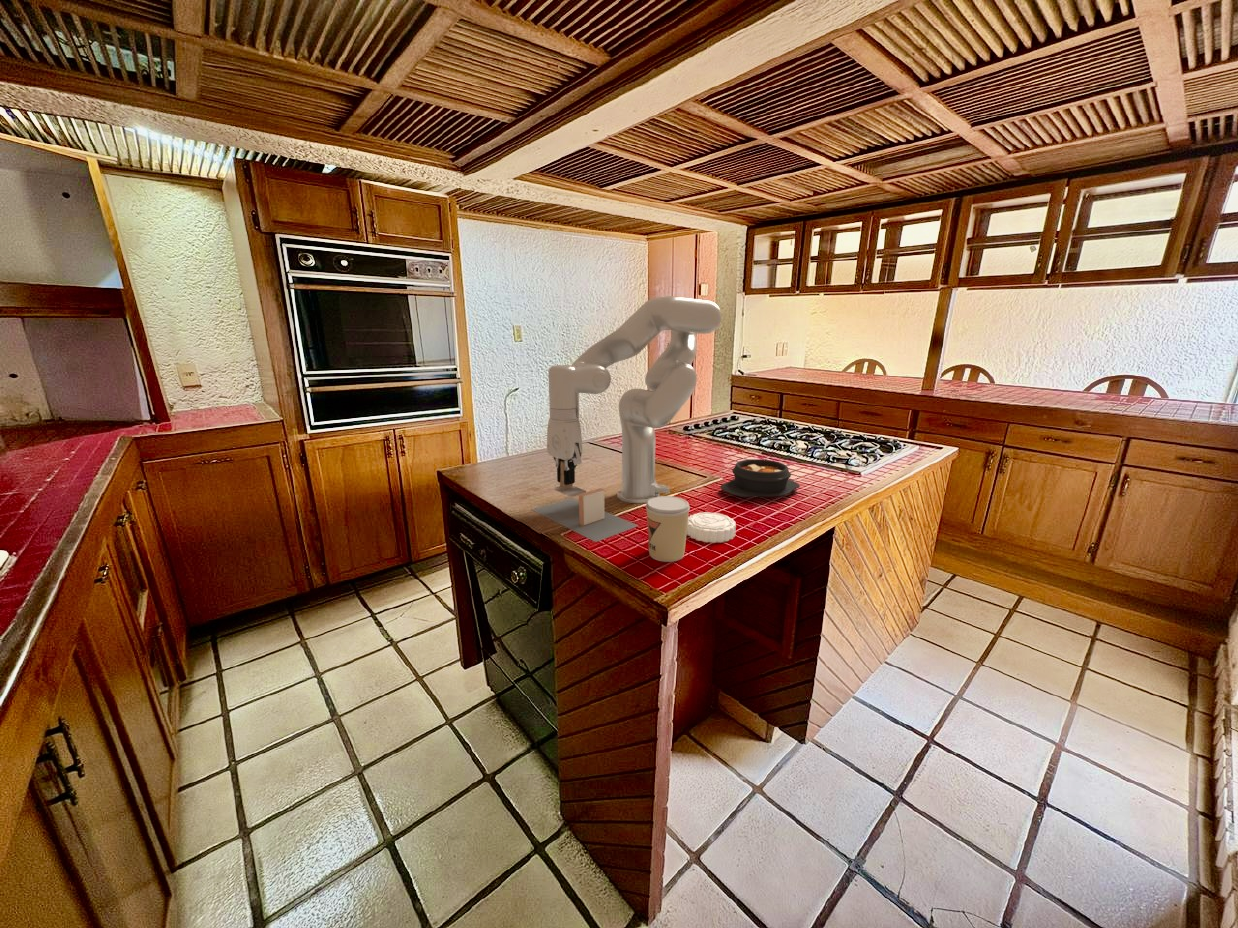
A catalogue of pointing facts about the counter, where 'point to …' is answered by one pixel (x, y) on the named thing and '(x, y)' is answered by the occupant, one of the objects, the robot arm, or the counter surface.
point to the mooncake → (711, 527)
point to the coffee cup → (667, 527)
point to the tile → (591, 507)
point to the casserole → (760, 479)
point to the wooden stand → (567, 489)
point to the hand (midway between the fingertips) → (566, 482)
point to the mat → (569, 517)
